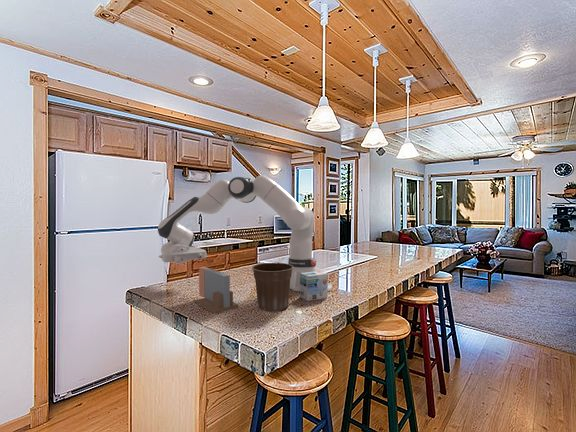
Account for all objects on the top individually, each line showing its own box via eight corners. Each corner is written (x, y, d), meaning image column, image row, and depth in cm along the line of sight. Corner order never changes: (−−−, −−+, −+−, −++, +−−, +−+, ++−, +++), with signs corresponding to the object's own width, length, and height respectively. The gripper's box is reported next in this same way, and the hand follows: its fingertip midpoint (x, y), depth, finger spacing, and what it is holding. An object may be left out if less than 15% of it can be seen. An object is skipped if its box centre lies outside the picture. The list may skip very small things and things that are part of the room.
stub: (199, 295, 140) (198, 267, 139) (204, 294, 141) (204, 266, 141) (204, 297, 136) (204, 269, 135) (209, 296, 137) (209, 268, 137)
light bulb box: (307, 301, 137) (307, 276, 136) (299, 297, 143) (299, 272, 142) (328, 298, 142) (328, 273, 141) (319, 294, 147) (320, 270, 147)
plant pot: (259, 316, 119) (259, 272, 118) (247, 303, 134) (247, 264, 133) (299, 310, 125) (300, 268, 125) (283, 298, 140) (283, 261, 139)
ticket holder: (196, 303, 133) (196, 270, 133) (218, 298, 140) (218, 267, 139) (215, 313, 121) (214, 277, 120) (238, 308, 128) (238, 273, 127)
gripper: (157, 249, 151) (168, 253, 140) (198, 245, 164) (211, 249, 154) (157, 262, 151) (168, 267, 141) (198, 258, 164) (211, 262, 154)
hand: (191, 258), depth 147 cm, fingers open, 8 cm apart
